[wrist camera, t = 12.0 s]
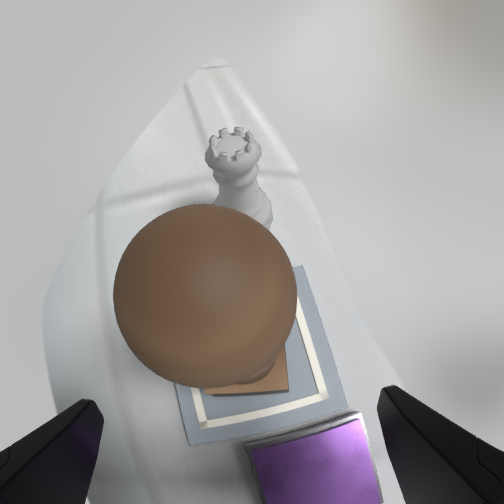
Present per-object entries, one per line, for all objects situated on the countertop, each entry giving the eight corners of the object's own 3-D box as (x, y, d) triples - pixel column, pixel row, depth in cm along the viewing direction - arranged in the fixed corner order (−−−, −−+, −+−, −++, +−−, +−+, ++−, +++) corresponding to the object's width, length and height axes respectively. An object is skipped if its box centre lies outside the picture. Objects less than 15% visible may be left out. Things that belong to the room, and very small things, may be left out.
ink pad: (377, 497, 12) (386, 504, 11) (273, 529, 12) (273, 540, 10) (355, 411, 15) (363, 412, 14) (247, 442, 15) (244, 447, 14)
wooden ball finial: (288, 392, 16) (348, 394, 3) (215, 396, 16) (52, 391, 3) (281, 323, 18) (301, 142, 5) (213, 329, 18) (90, 172, 5)
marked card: (346, 407, 16) (348, 407, 15) (191, 444, 15) (189, 445, 15) (302, 267, 20) (302, 264, 20) (163, 302, 20) (160, 299, 19)
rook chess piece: (203, 230, 22) (175, 155, 15) (234, 189, 24) (220, 111, 17) (254, 255, 21) (245, 180, 14) (283, 209, 23) (285, 129, 16)
